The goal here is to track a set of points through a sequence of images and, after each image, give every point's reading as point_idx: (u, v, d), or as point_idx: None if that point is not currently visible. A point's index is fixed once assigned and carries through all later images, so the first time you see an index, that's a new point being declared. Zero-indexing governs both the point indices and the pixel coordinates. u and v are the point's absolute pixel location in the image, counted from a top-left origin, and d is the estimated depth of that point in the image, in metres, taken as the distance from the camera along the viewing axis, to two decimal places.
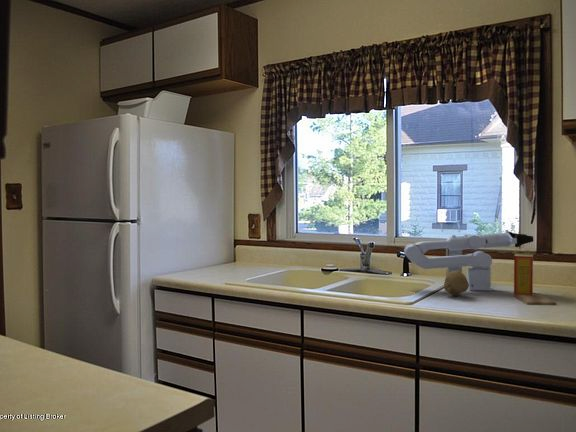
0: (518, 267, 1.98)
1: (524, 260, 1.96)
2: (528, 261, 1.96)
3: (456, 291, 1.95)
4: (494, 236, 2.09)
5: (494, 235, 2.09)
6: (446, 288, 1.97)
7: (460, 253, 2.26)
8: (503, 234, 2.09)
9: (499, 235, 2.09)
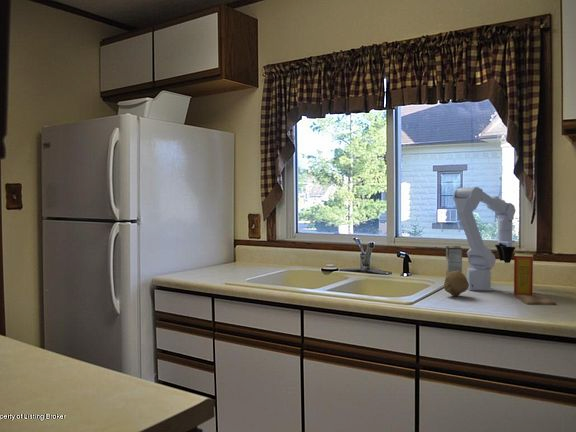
0: (518, 267, 1.97)
1: (524, 260, 1.96)
2: (528, 261, 1.96)
3: (456, 291, 1.95)
4: None
5: None
6: (446, 288, 1.97)
7: (460, 253, 2.26)
8: (511, 237, 2.18)
9: (511, 234, 2.17)
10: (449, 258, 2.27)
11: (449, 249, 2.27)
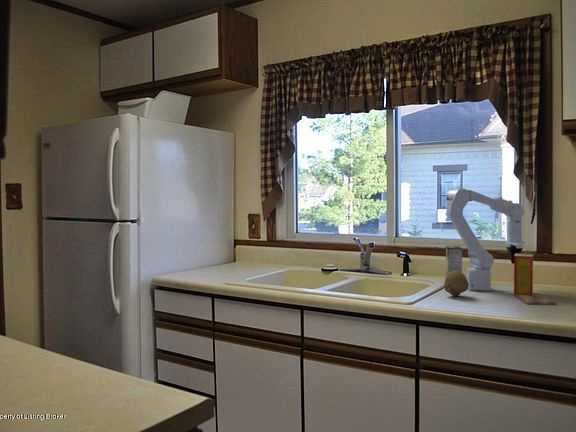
0: (518, 267, 1.97)
1: (524, 260, 1.96)
2: (528, 261, 1.96)
3: (456, 291, 1.95)
4: (521, 229, 2.11)
5: (521, 229, 2.11)
6: (446, 288, 1.97)
7: (460, 253, 2.26)
8: (521, 238, 2.11)
9: (521, 235, 2.11)
10: (449, 258, 2.27)
11: (449, 249, 2.27)
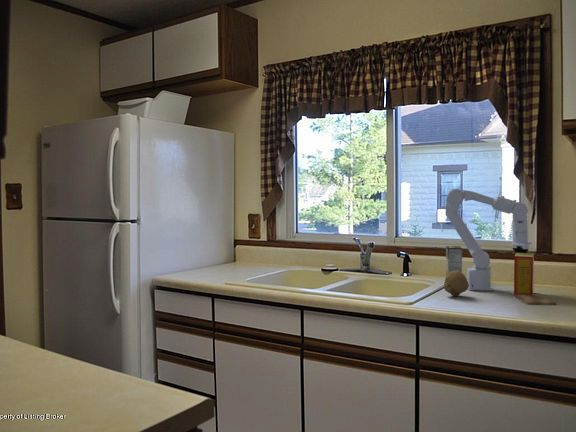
0: (518, 268, 1.97)
1: (524, 260, 1.96)
2: (528, 261, 1.95)
3: (456, 291, 1.95)
4: (525, 230, 2.03)
5: (526, 230, 2.04)
6: (446, 288, 1.97)
7: (460, 253, 2.26)
8: (527, 239, 2.04)
9: (527, 235, 2.04)
10: (449, 258, 2.27)
11: (449, 249, 2.27)
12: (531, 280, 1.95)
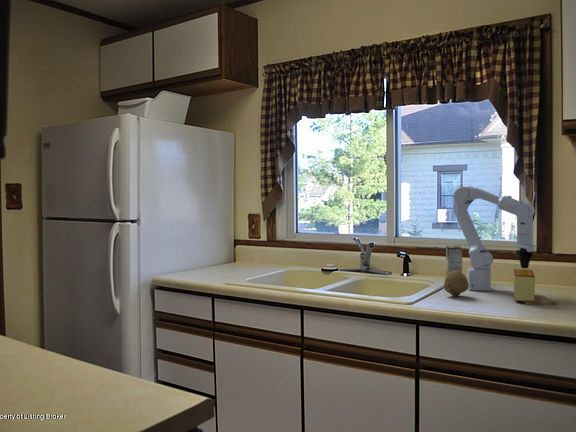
0: None
1: None
2: None
3: (456, 291, 1.95)
4: (527, 232, 1.97)
5: (529, 232, 1.97)
6: (446, 288, 1.97)
7: (460, 253, 2.26)
8: (532, 241, 1.98)
9: (532, 237, 1.97)
10: (449, 258, 2.27)
11: (449, 249, 2.27)
12: None
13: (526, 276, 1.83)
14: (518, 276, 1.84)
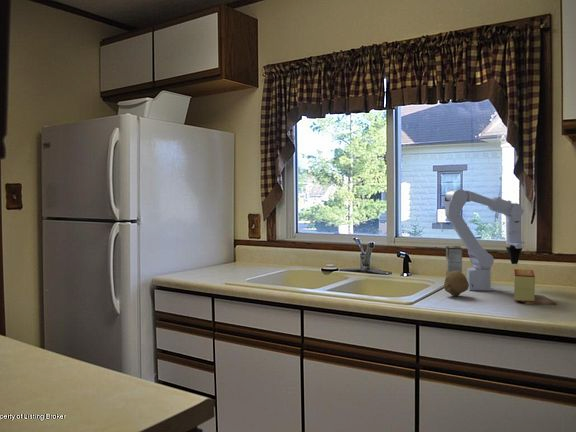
0: None
1: None
2: None
3: (456, 291, 1.95)
4: (520, 229, 2.10)
5: (520, 230, 2.11)
6: (446, 288, 1.97)
7: (460, 253, 2.26)
8: (520, 238, 2.11)
9: (520, 235, 2.10)
10: (449, 258, 2.27)
11: (449, 249, 2.27)
12: None
13: (526, 276, 1.83)
14: (518, 276, 1.84)
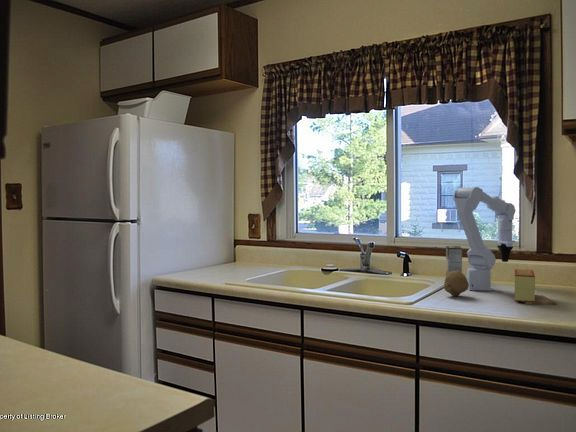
0: None
1: None
2: None
3: (456, 291, 1.95)
4: None
5: None
6: (446, 288, 1.97)
7: (460, 253, 2.26)
8: (511, 237, 2.18)
9: (511, 234, 2.17)
10: (449, 258, 2.27)
11: (449, 249, 2.27)
12: None
13: (526, 276, 1.83)
14: (518, 276, 1.84)
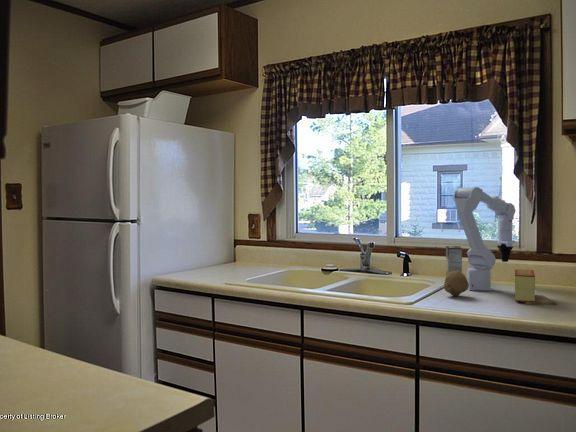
0: None
1: None
2: None
3: (456, 291, 1.95)
4: None
5: None
6: (446, 288, 1.97)
7: (460, 253, 2.26)
8: (511, 237, 2.18)
9: (511, 234, 2.17)
10: (449, 258, 2.27)
11: (449, 249, 2.27)
12: None
13: (526, 276, 1.83)
14: (518, 276, 1.84)
